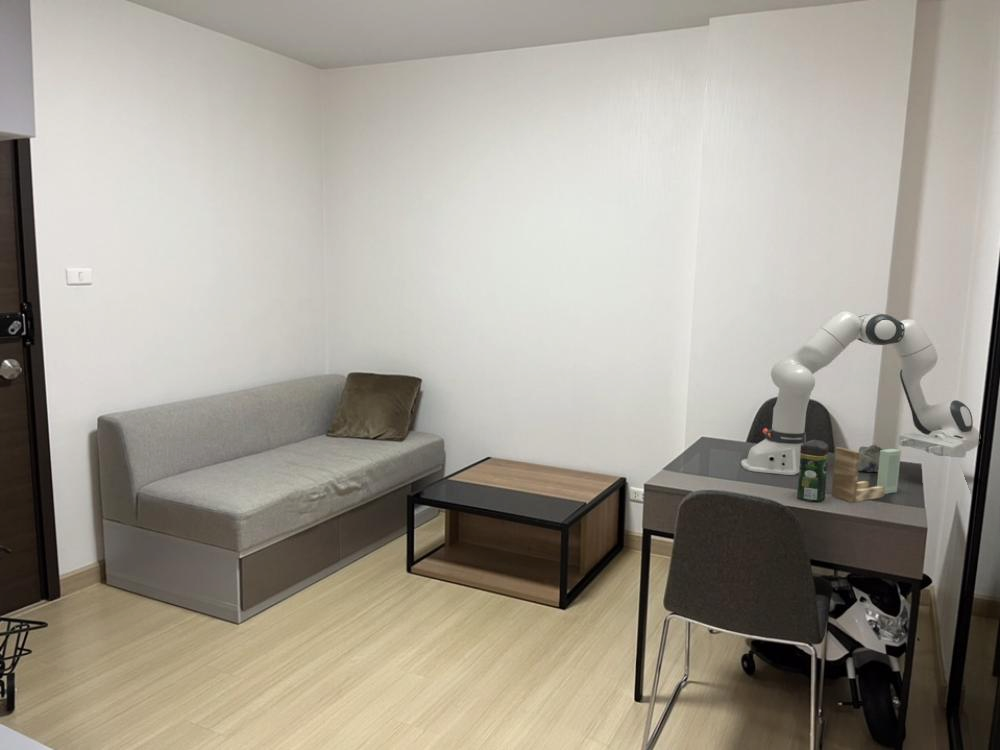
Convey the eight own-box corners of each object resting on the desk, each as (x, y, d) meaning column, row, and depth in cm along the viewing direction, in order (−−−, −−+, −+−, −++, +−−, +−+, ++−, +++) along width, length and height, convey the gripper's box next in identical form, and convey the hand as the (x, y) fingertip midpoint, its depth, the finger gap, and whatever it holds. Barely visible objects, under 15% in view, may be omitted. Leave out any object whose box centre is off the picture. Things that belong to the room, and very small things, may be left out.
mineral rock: (899, 473, 275) (902, 446, 274) (889, 478, 267) (892, 451, 266) (862, 466, 284) (864, 439, 282) (851, 471, 276) (854, 444, 275)
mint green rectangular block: (884, 494, 249) (888, 452, 247) (876, 491, 252) (880, 450, 250) (896, 491, 252) (901, 450, 250) (888, 489, 254) (892, 448, 252)
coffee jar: (801, 491, 250) (806, 436, 247) (827, 496, 245) (832, 440, 243) (793, 499, 242) (798, 442, 239) (819, 504, 238) (824, 446, 235)
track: (850, 502, 240) (855, 453, 237) (831, 495, 246) (835, 447, 244) (883, 496, 246) (888, 448, 244) (864, 490, 253) (868, 443, 250)
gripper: (914, 427, 269) (887, 431, 263) (971, 439, 251) (944, 444, 245) (913, 445, 270) (886, 449, 264) (969, 458, 252) (942, 463, 246)
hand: (914, 446), depth 254 cm, fingers open, 8 cm apart
